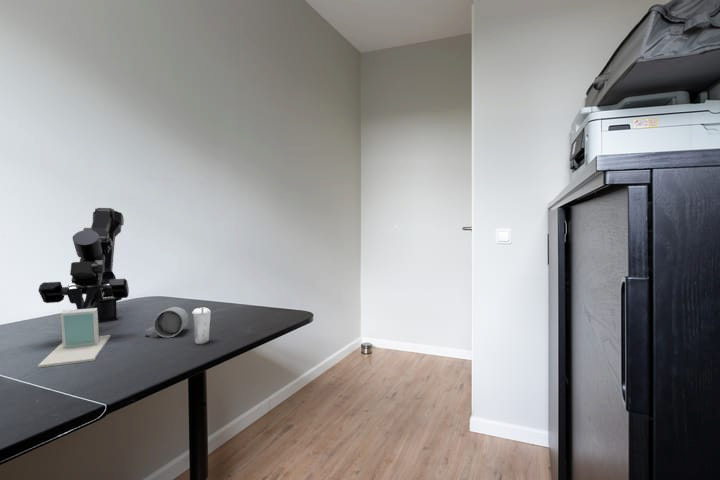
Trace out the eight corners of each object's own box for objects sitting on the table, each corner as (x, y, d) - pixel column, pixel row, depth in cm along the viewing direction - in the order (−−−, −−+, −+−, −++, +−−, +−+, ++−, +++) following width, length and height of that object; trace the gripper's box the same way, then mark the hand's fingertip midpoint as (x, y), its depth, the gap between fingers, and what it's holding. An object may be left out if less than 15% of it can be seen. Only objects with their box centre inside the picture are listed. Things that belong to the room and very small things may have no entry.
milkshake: (193, 346, 93) (192, 307, 93) (192, 340, 98) (191, 303, 97) (212, 344, 95) (211, 306, 95) (210, 338, 100) (209, 302, 99)
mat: (65, 341, 97) (65, 339, 97) (110, 336, 101) (110, 334, 101) (37, 367, 79) (37, 365, 79) (94, 360, 83) (94, 358, 83)
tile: (65, 344, 92) (62, 310, 90) (99, 340, 95) (97, 307, 93) (62, 348, 90) (60, 313, 88) (97, 344, 93) (95, 311, 91)
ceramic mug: (190, 328, 109) (189, 303, 109) (183, 336, 101) (182, 309, 101) (151, 331, 107) (150, 305, 107) (141, 340, 99) (140, 312, 99)
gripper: (40, 251, 93) (23, 302, 83) (126, 249, 101) (120, 295, 91) (51, 278, 100) (37, 327, 90) (130, 274, 108) (126, 320, 98)
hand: (81, 317), depth 92 cm, fingers closed
